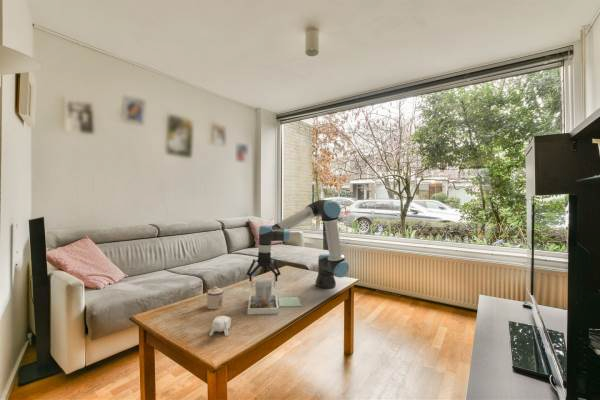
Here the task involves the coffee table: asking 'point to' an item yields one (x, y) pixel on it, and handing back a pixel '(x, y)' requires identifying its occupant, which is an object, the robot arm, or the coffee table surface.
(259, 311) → the parts tray
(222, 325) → the white animal figurine
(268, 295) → the supplement tub
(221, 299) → the teacup with lid
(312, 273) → the coffee table surface
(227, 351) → the coffee table surface
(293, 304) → the mat
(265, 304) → the walnut block
